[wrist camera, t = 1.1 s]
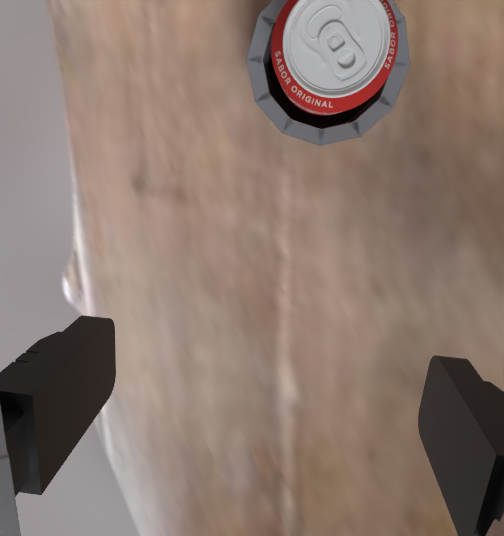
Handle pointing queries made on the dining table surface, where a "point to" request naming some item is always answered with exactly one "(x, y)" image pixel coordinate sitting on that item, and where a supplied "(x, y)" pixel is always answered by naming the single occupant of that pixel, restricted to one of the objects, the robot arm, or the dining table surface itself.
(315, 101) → the beverage can
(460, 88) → the dining table surface
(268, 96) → the sleeve
